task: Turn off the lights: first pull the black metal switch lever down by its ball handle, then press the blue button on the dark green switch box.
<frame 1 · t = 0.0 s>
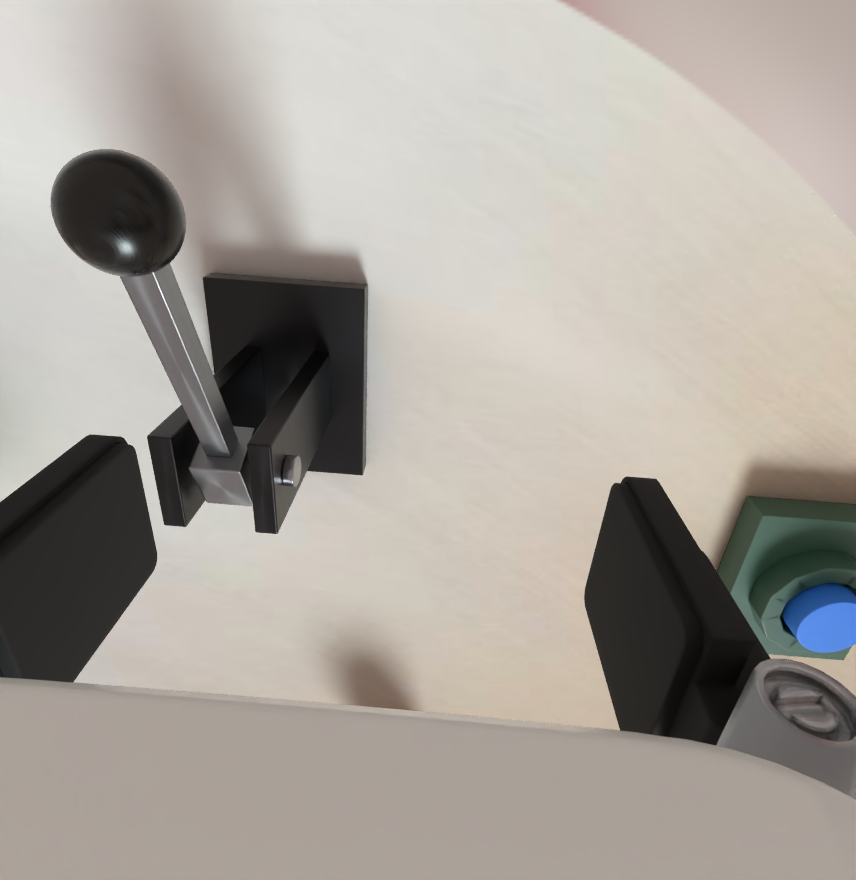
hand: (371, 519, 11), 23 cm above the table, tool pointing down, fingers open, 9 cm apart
switch bracket: (294, 376, 34), on the table
lever: (188, 368, 20), point 14 cm above the table, hinge at 25.0°
switch box: (789, 571, 39), on the table
button: (826, 618, 36), point 4 cm above the table, slide at 0.1 cm
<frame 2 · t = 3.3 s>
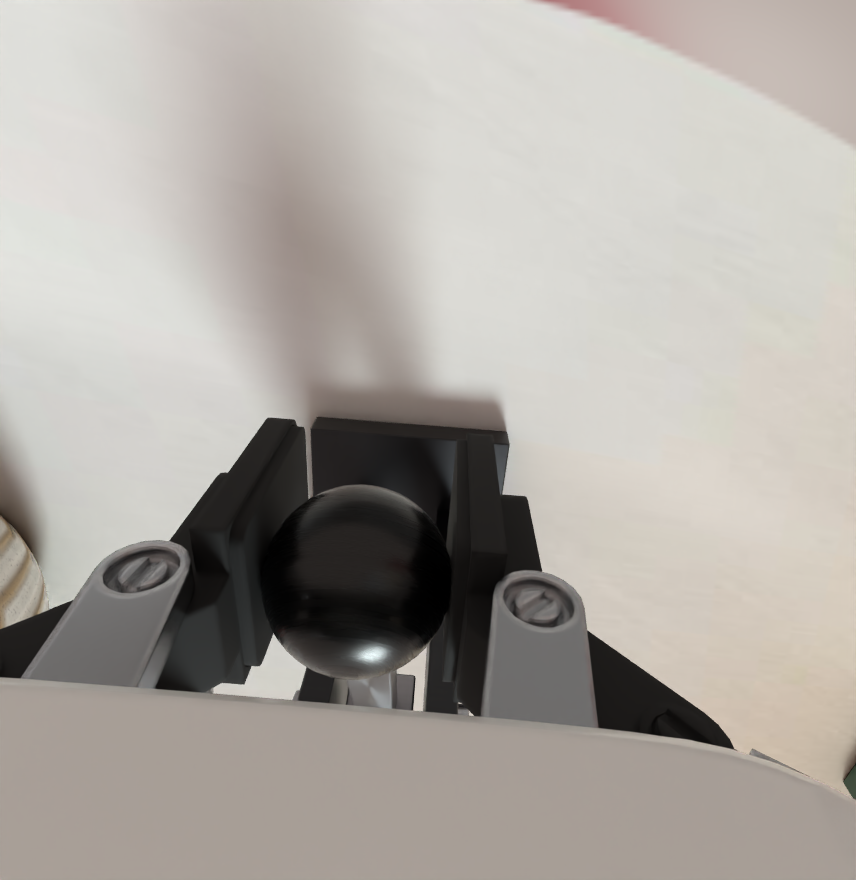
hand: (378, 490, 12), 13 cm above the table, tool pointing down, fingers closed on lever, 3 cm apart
switch bracket: (406, 527, 29), on the table
lever: (372, 671, 14), point 14 cm above the table, hinge at 25.0°, touching gripper
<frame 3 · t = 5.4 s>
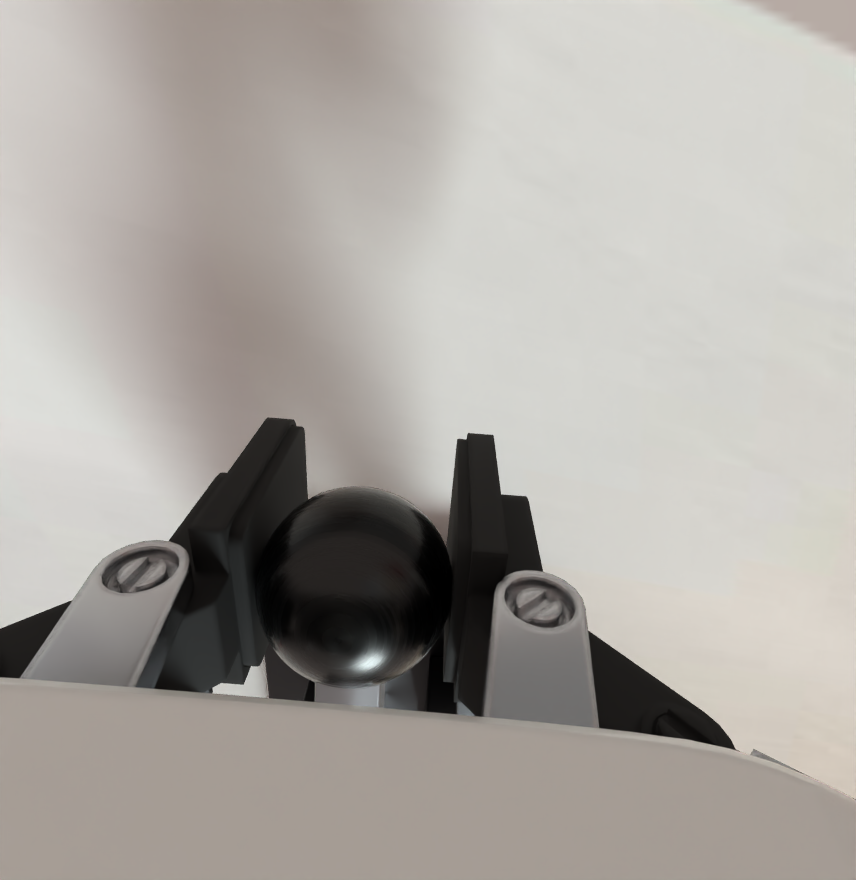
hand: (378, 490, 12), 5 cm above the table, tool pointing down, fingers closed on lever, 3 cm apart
switch bracket: (389, 664, 22), on the table
lever: (344, 860, 11), point 10 cm above the table, hinge at -13.5°, touching gripper
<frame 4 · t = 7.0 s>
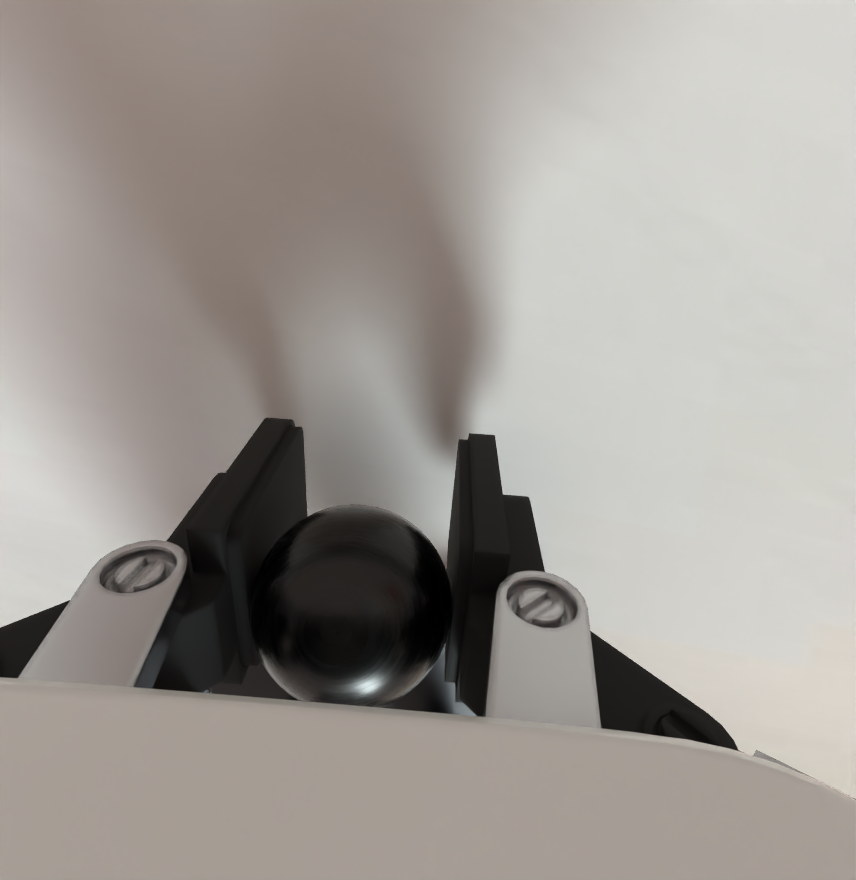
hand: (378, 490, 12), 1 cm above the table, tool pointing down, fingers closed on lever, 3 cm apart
switch bracket: (373, 732, 18), on the table
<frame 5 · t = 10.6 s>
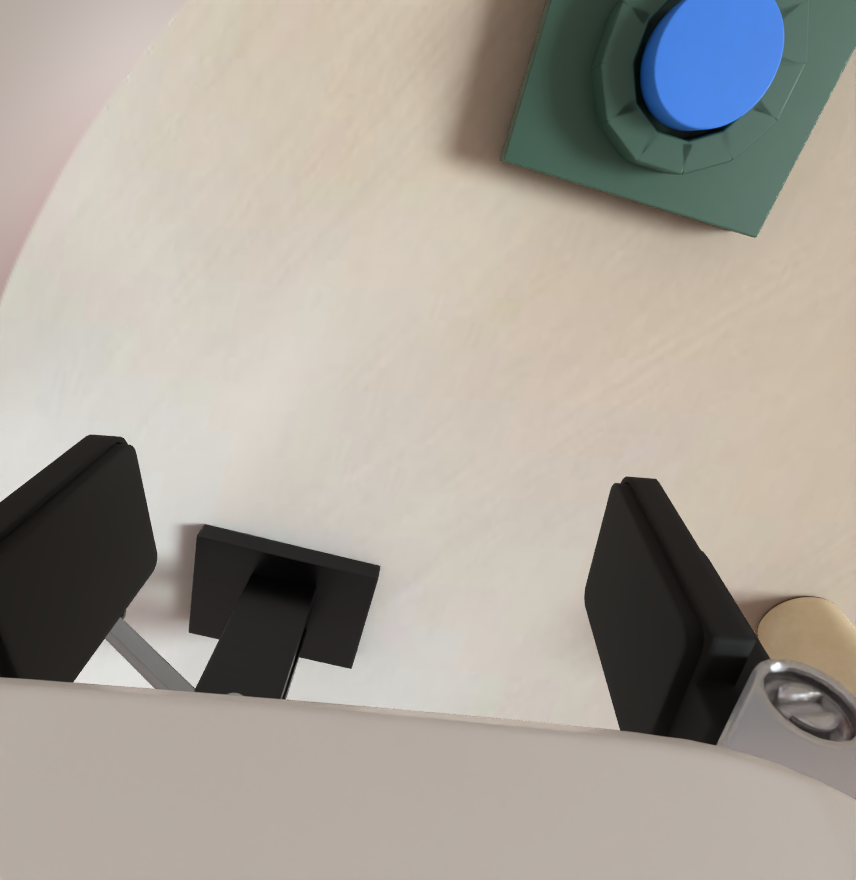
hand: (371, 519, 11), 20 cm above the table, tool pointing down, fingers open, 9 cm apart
switch bracket: (284, 593, 39), on the table
lever: (156, 670, 32), point 8 cm above the table, hinge at -30.5°
switch box: (667, 76, 24), on the table
candle: (796, 623, 38), on the table
button: (708, 61, 20), point 4 cm above the table, slide at 0.1 cm
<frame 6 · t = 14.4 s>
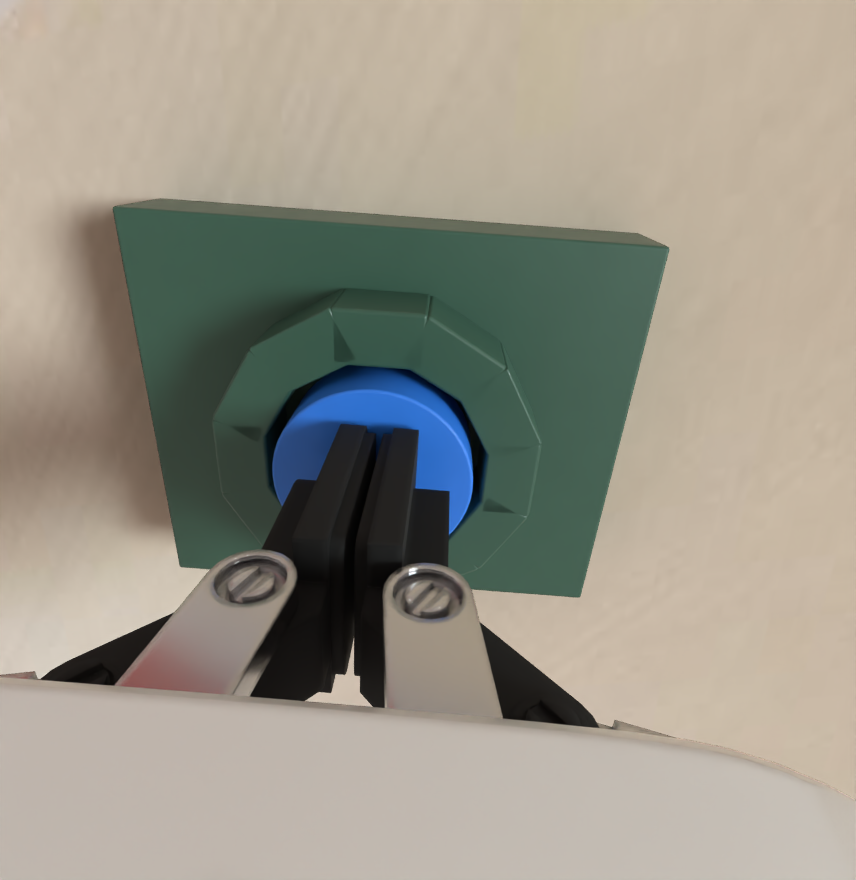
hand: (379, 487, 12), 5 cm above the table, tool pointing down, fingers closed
switch box: (392, 399, 16), on the table
button: (376, 463, 13), point 4 cm above the table, slide at -0.7 cm, touching gripper
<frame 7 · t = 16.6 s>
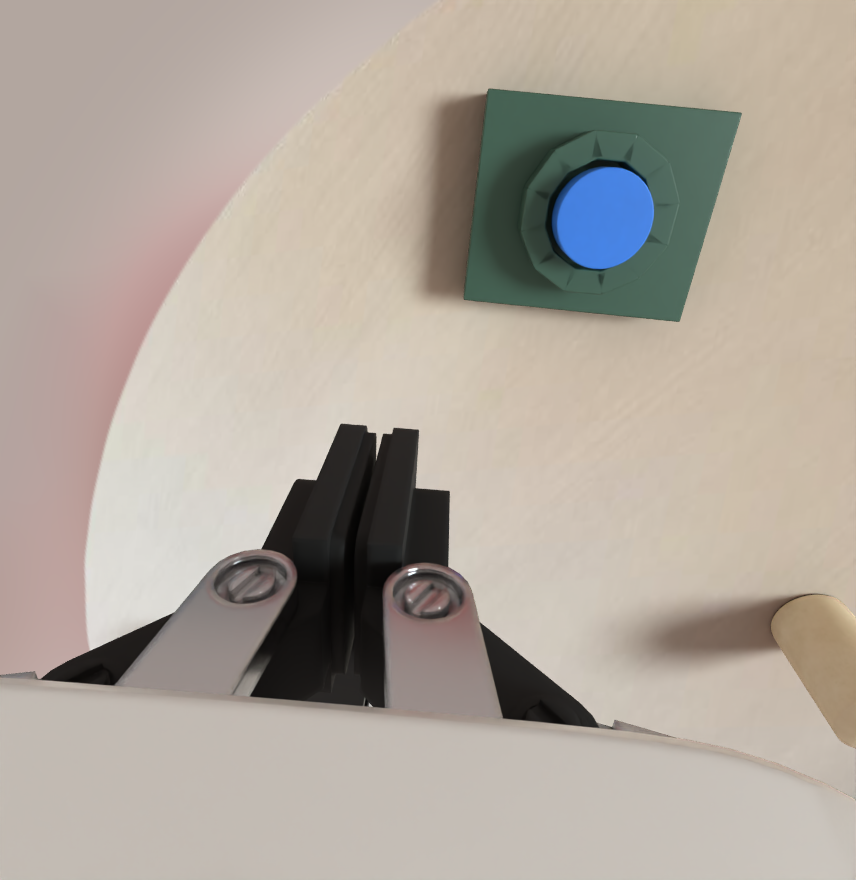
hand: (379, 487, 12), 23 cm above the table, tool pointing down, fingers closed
switch bracket: (351, 644, 46), on the table
switch box: (583, 210, 30), on the table
candle: (806, 618, 42), on the table
button: (600, 218, 26), point 4 cm above the table, slide at 0.1 cm
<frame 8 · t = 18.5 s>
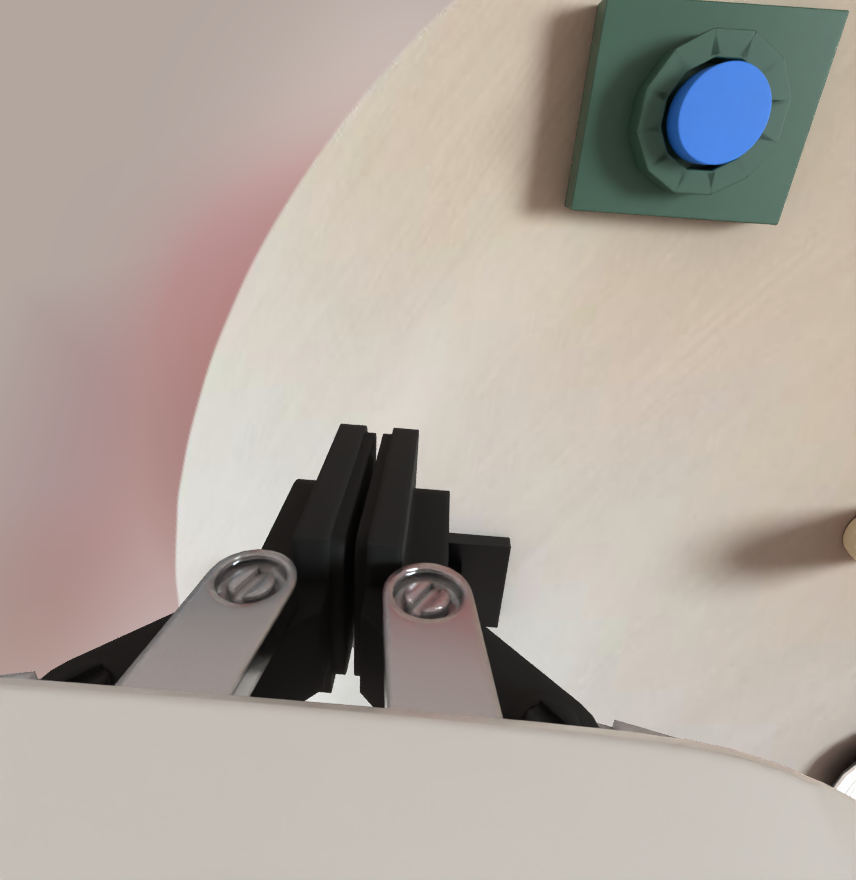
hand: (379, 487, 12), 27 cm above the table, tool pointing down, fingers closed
switch bracket: (434, 573, 48), on the table
lever: (359, 639, 41), point 8 cm above the table, hinge at -30.5°
switch box: (684, 120, 32), on the table
button: (716, 115, 28), point 4 cm above the table, slide at 0.1 cm
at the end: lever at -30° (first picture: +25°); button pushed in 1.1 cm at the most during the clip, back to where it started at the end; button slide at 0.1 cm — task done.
